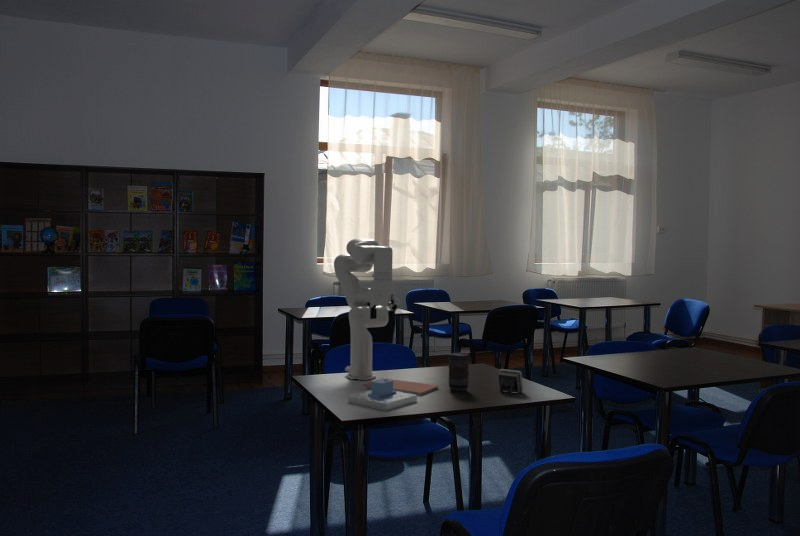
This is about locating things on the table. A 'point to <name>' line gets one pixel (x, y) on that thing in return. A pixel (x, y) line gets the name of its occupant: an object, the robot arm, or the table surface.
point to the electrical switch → (510, 380)
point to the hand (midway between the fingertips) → (382, 319)
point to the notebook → (408, 387)
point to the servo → (382, 388)
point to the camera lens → (458, 372)
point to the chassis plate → (382, 400)
